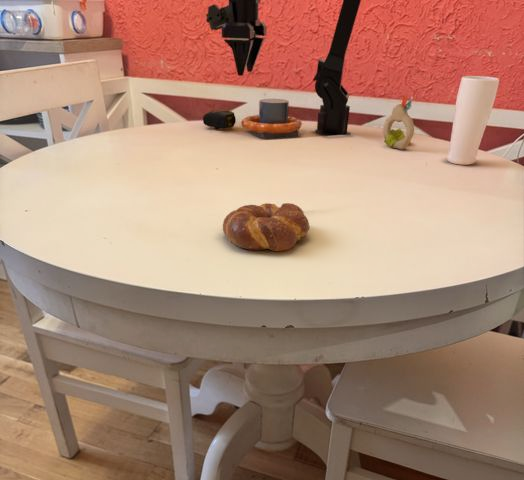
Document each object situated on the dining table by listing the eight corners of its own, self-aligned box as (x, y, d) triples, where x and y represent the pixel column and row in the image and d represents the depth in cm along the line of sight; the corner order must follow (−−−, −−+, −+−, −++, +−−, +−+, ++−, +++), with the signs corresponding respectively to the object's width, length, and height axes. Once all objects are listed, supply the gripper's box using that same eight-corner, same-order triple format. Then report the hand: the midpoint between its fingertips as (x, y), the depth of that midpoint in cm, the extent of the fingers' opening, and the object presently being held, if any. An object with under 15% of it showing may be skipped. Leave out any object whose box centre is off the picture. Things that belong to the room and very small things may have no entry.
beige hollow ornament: (428, 149, 110) (440, 90, 103) (399, 152, 106) (409, 92, 100) (405, 142, 115) (414, 86, 108) (377, 145, 112) (385, 87, 105)
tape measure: (201, 128, 122) (201, 112, 120) (219, 124, 127) (219, 108, 125) (223, 132, 119) (223, 115, 117) (240, 128, 123) (240, 112, 121)
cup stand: (281, 129, 124) (283, 97, 120) (298, 136, 117) (300, 102, 113) (248, 131, 121) (248, 98, 117) (263, 139, 114) (264, 104, 110)
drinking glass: (462, 157, 104) (482, 75, 96) (485, 165, 99) (508, 79, 90) (435, 159, 102) (453, 76, 93) (457, 167, 97) (478, 80, 88)
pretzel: (267, 215, 71) (268, 189, 69) (328, 236, 65) (331, 208, 63) (204, 236, 64) (202, 208, 62) (265, 262, 58) (266, 232, 56)
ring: (288, 121, 126) (288, 113, 125) (310, 132, 115) (310, 123, 114) (235, 123, 122) (235, 115, 121) (252, 135, 111) (252, 125, 110)
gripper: (221, -8, 117) (222, 68, 126) (196, -11, 102) (200, 75, 110) (267, -7, 115) (266, 70, 124) (249, -10, 100) (249, 78, 109)
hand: (245, 73), depth 117 cm, fingers open, 9 cm apart
